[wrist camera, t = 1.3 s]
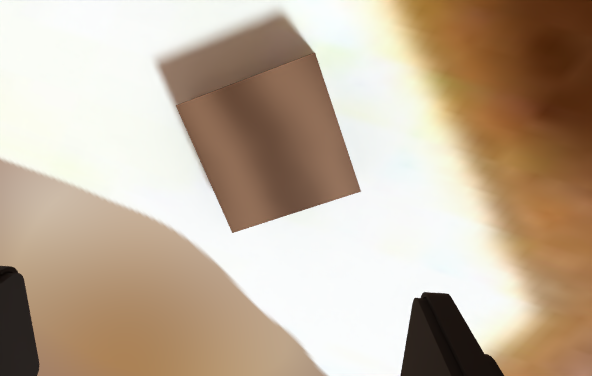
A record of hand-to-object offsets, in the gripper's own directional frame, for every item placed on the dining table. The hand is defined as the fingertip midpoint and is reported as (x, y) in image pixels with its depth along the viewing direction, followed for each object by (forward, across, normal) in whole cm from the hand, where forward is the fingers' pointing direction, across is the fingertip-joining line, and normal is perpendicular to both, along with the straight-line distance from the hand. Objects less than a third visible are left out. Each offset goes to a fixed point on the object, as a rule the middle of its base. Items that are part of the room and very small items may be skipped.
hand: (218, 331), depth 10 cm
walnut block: (+24, 0, 0) cm, 24 cm away
